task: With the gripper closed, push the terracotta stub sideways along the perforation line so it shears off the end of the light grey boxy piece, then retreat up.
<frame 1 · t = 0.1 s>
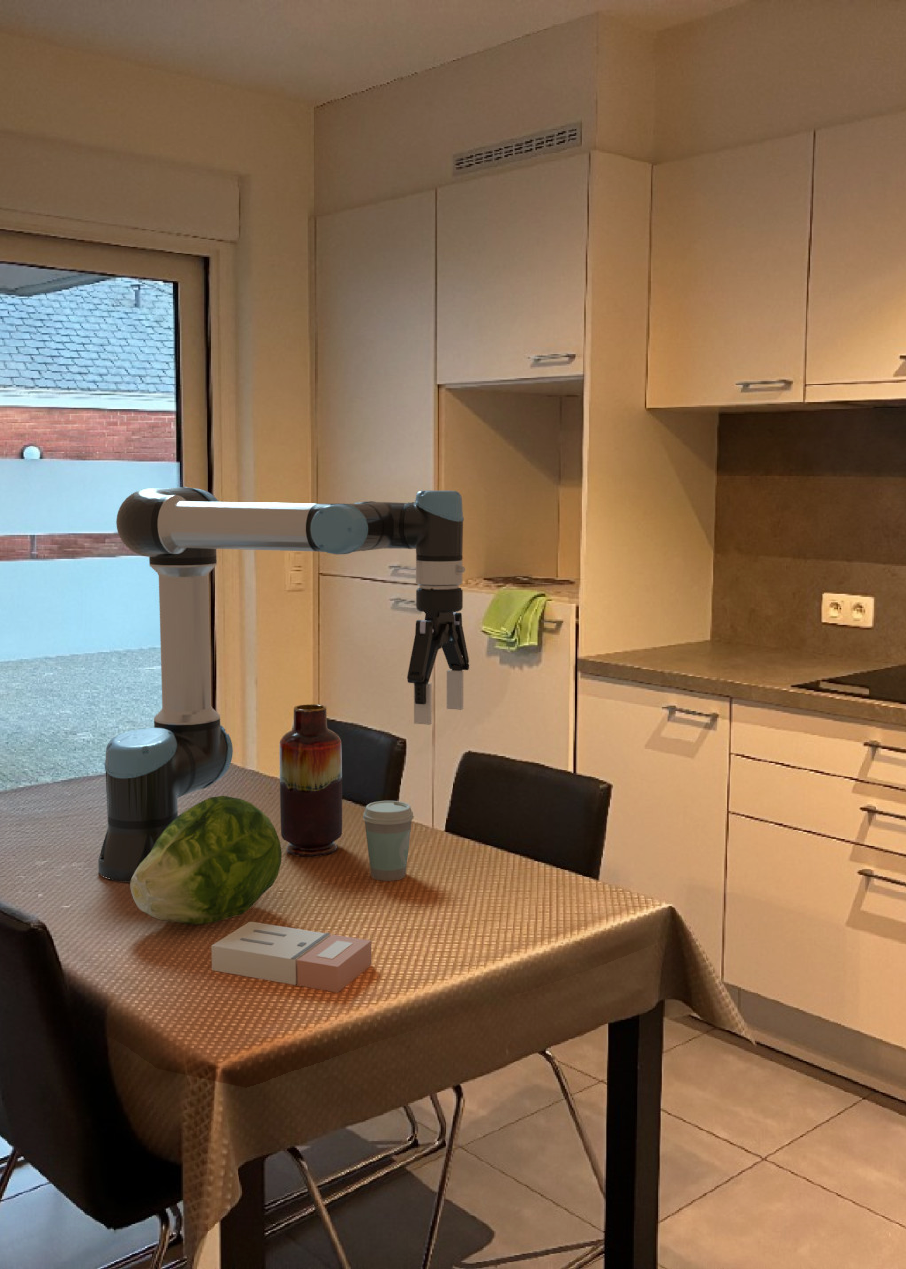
hand: (439, 716, 204), 28 cm above the table, fingers open, 13 cm apart
stub: (335, 962, 169), point 2 cm above the table, slide at 0.0 cm
coffee cup: (388, 876, 211), on the table
light grey boxy piece: (281, 965, 172), on the table
lettuce: (206, 919, 191), on the table
vase: (311, 850, 225), on the table
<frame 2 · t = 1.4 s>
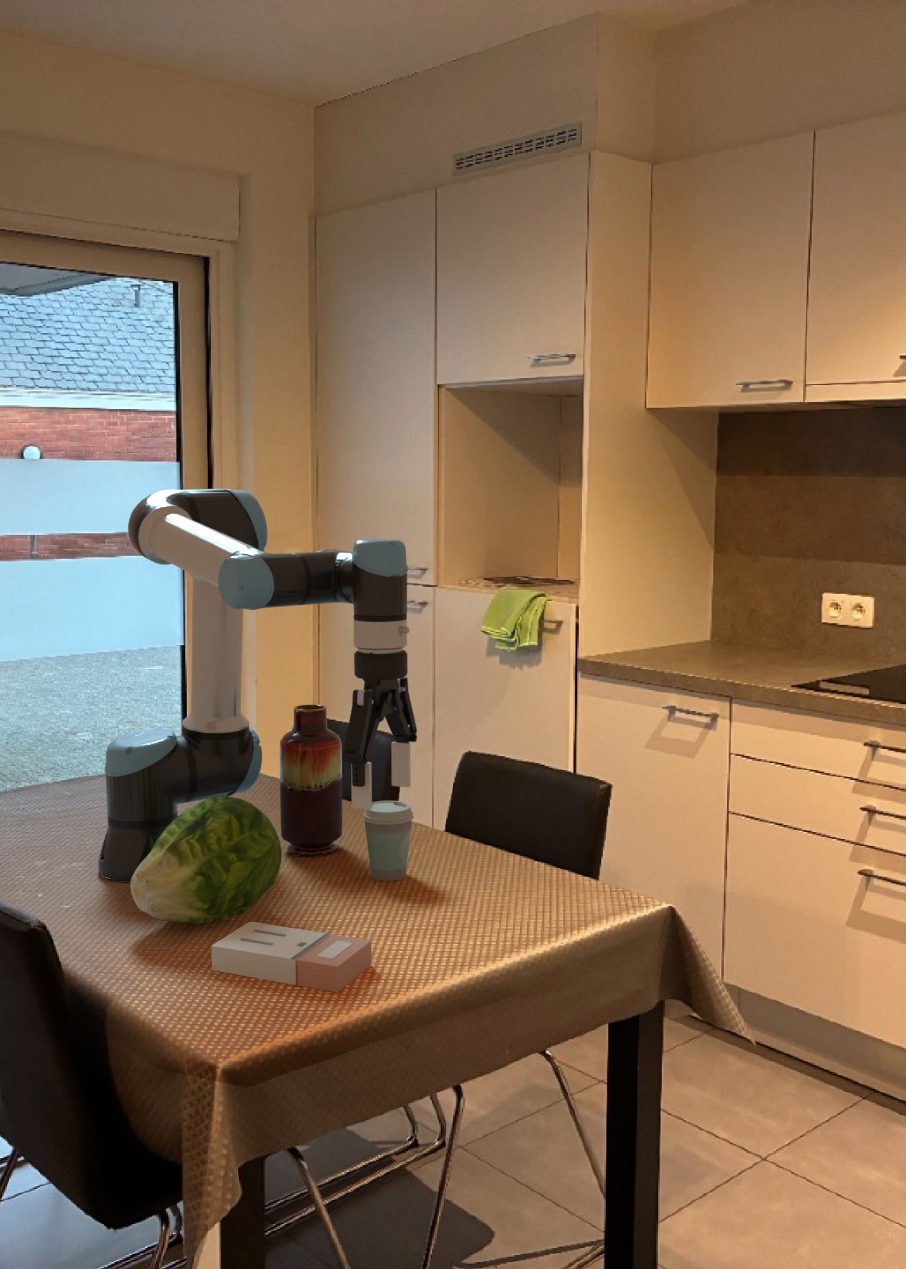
hand: (382, 797, 178), 21 cm above the table, fingers open, 13 cm apart
nothing on the table moved.
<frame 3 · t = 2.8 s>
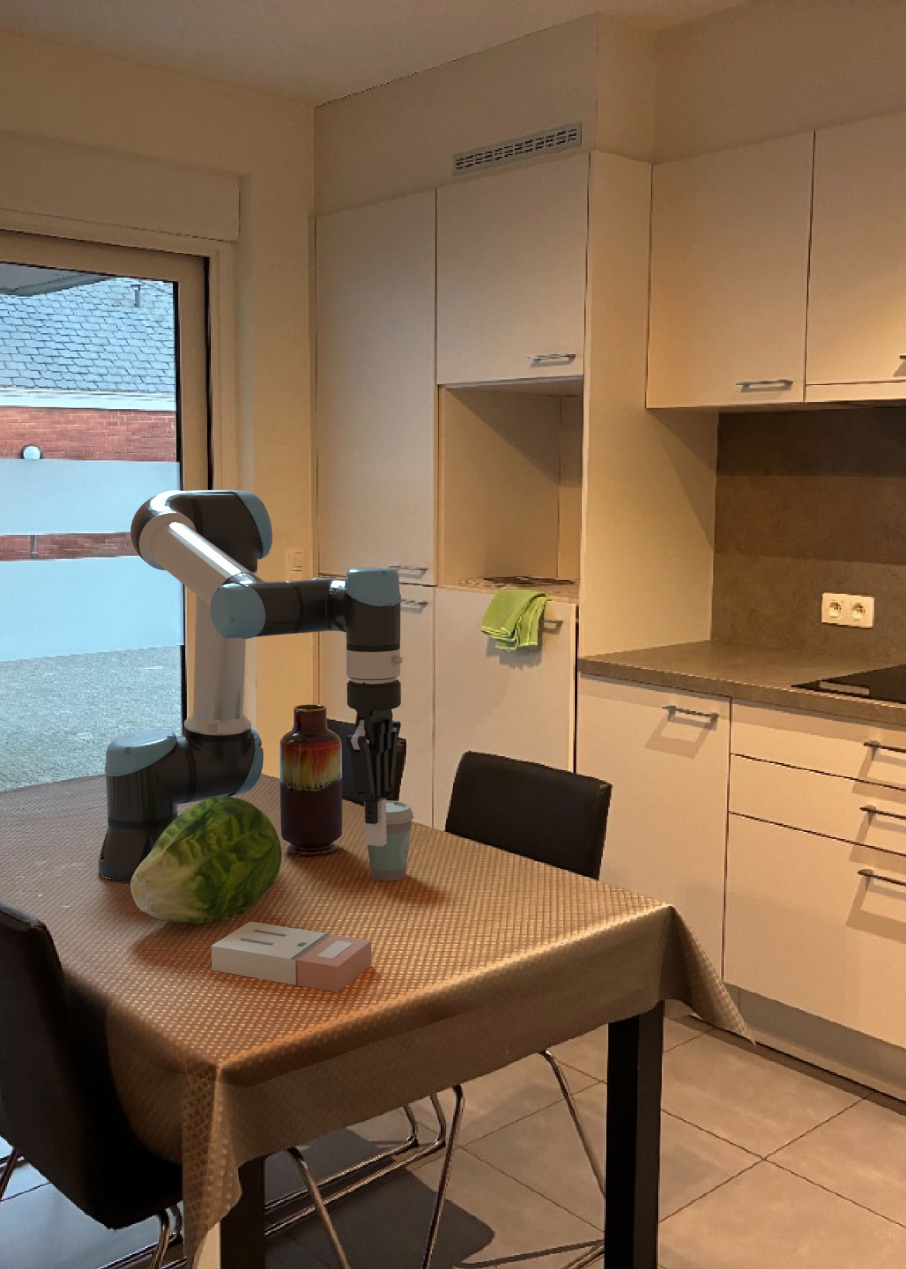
hand: (375, 843, 177), 15 cm above the table, fingers closed
nothing on the table moved.
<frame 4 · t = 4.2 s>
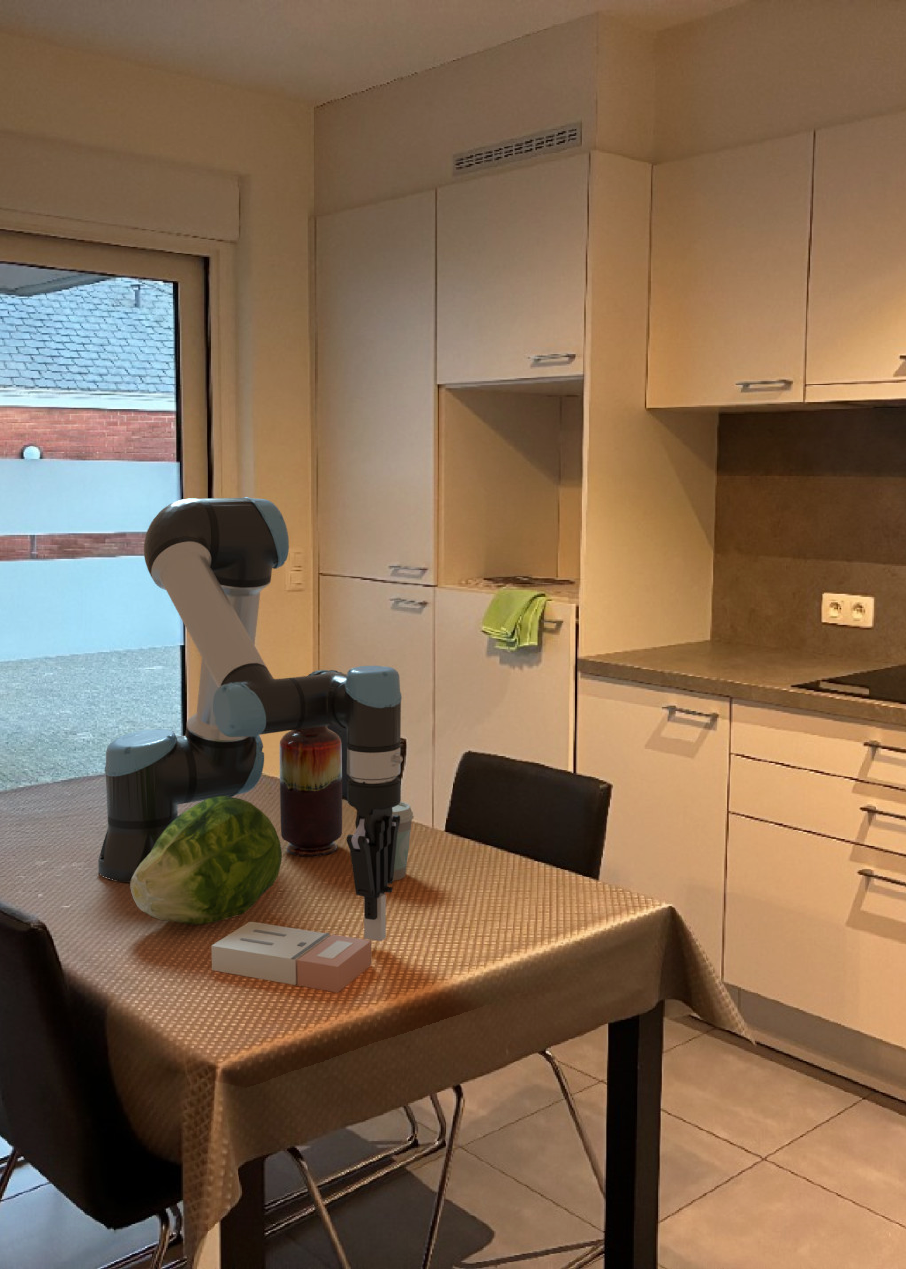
hand: (375, 938, 179), 1 cm above the table, fingers closed
nothing on the table moved.
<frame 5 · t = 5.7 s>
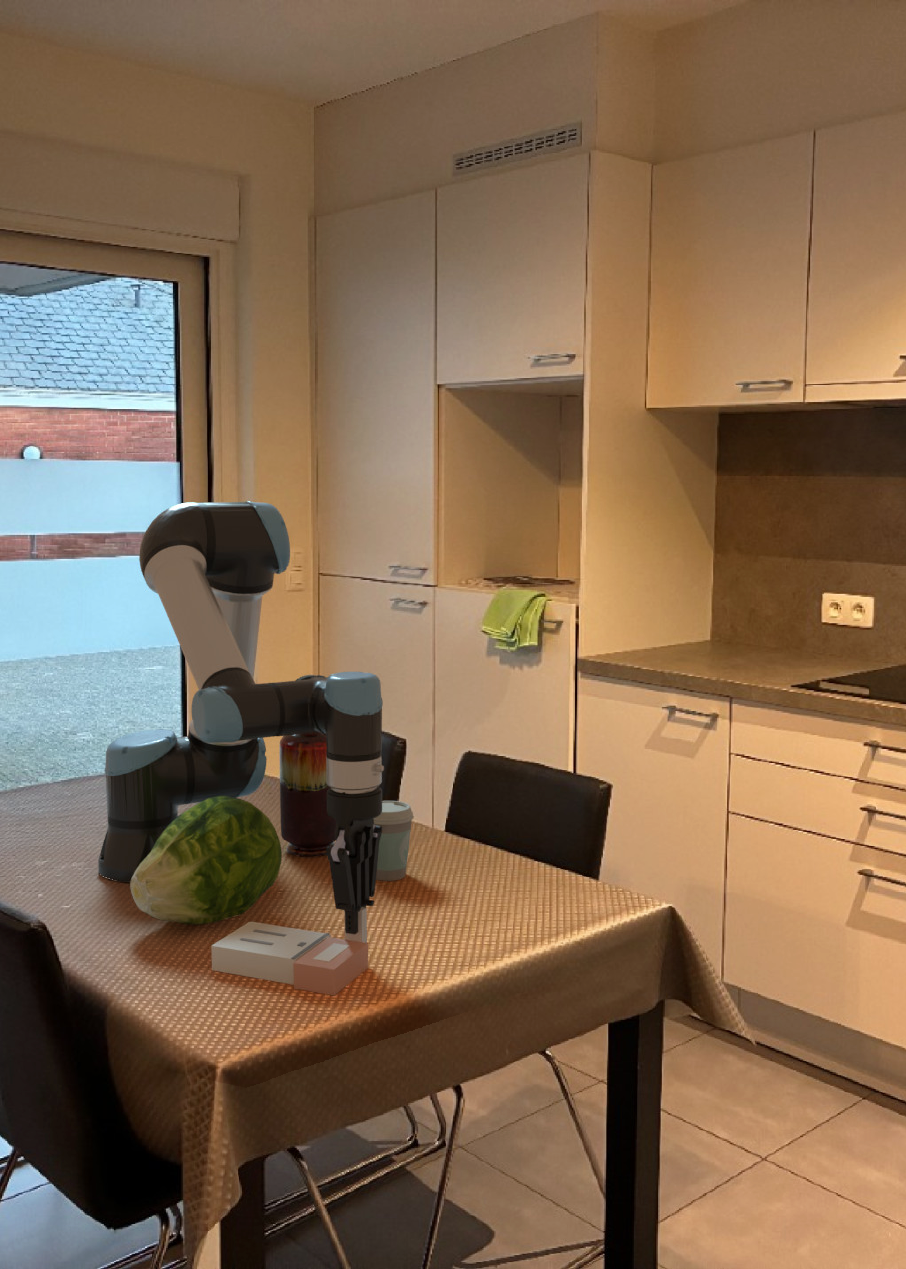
hand: (355, 953, 173), 1 cm above the table, fingers closed
stub: (331, 964, 168), point 2 cm above the table, slide at 1.0 cm, touching gripper
everything else where it was.
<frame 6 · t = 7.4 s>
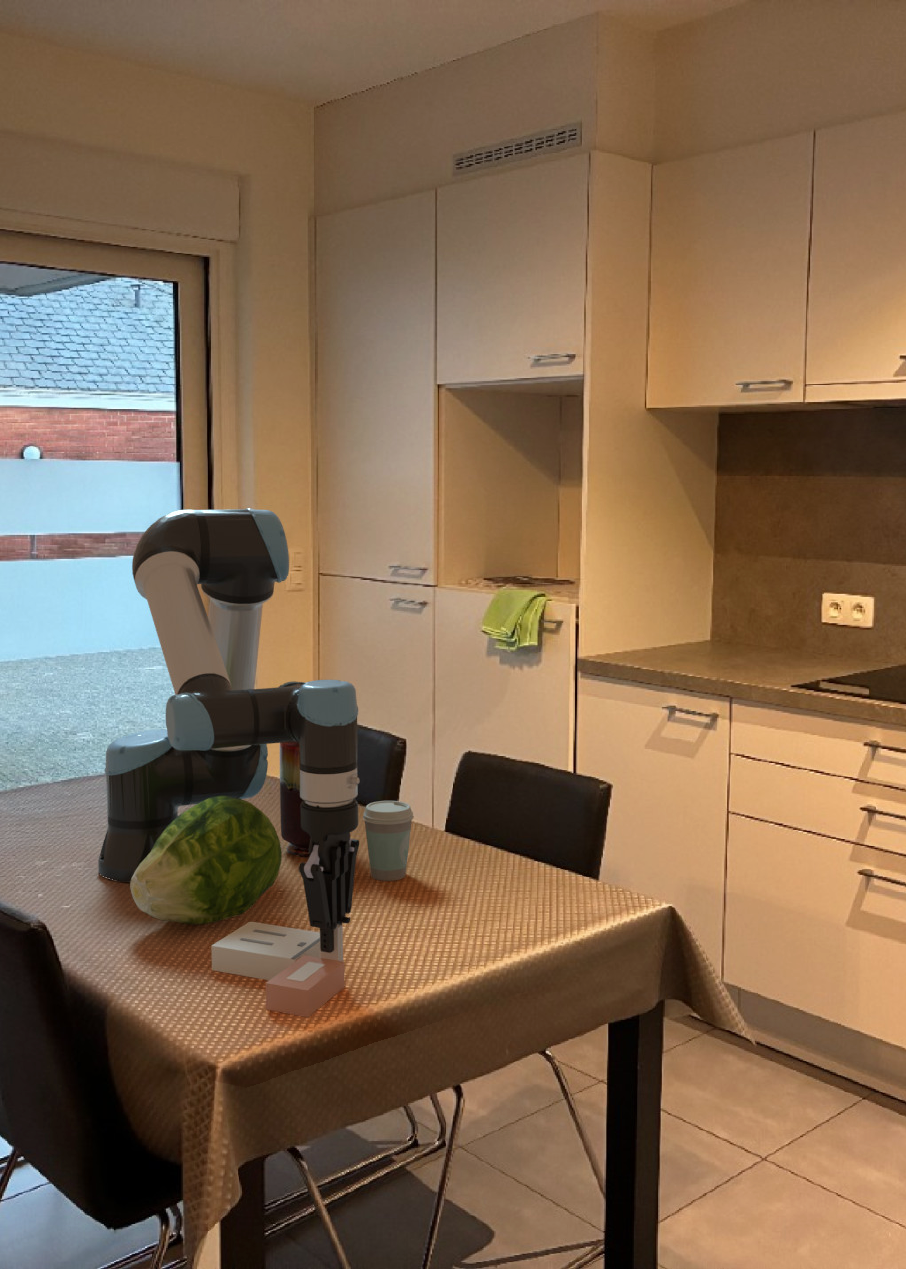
hand: (331, 971, 166), 1 cm above the table, fingers closed
stub: (305, 984, 161), point 2 cm above the table, slide at 8.1 cm, touching gripper
everything else where it was.
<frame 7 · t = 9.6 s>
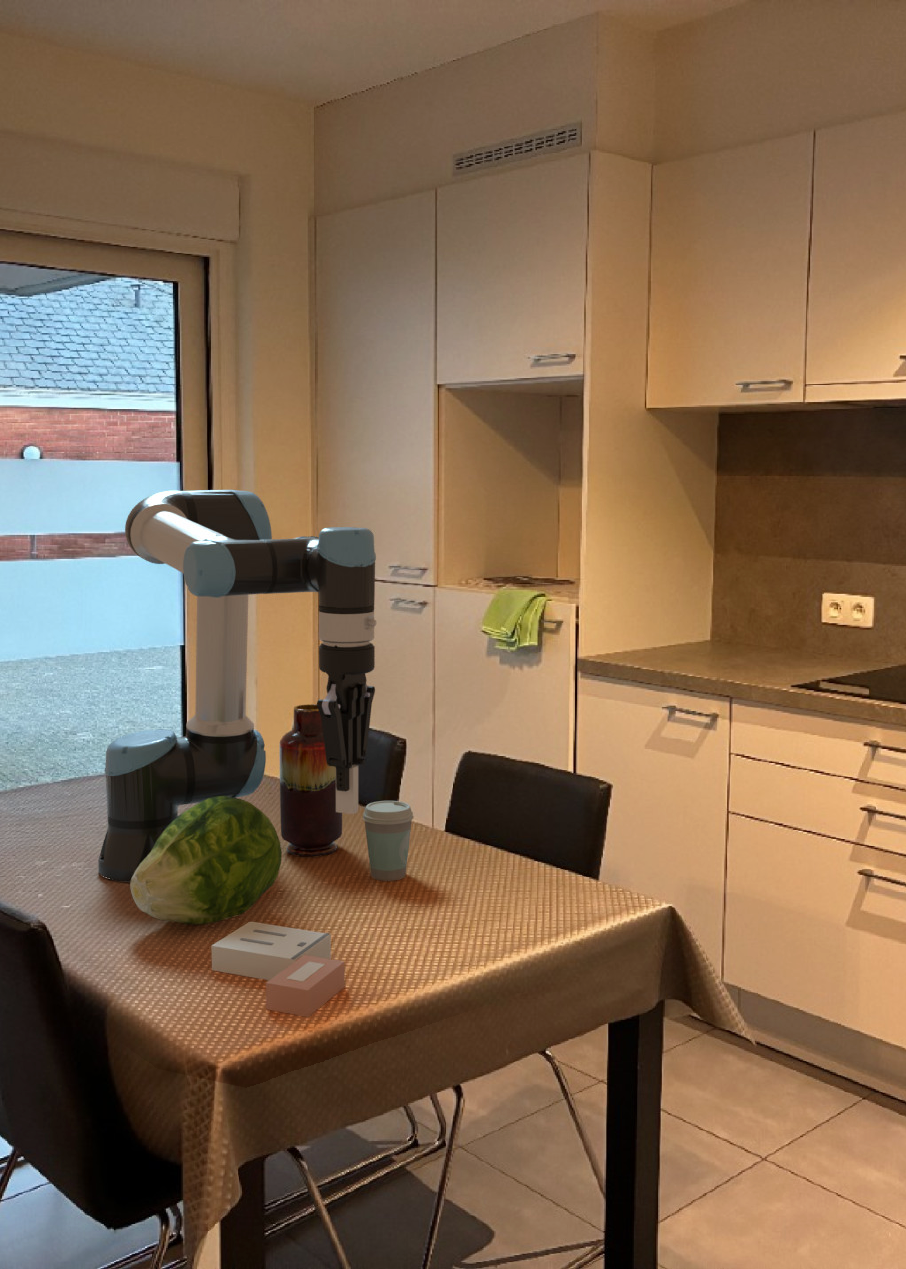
hand: (347, 811, 172), 21 cm above the table, fingers closed
stub: (306, 984, 161), point 2 cm above the table, slide at 8.1 cm
everything else where it was.
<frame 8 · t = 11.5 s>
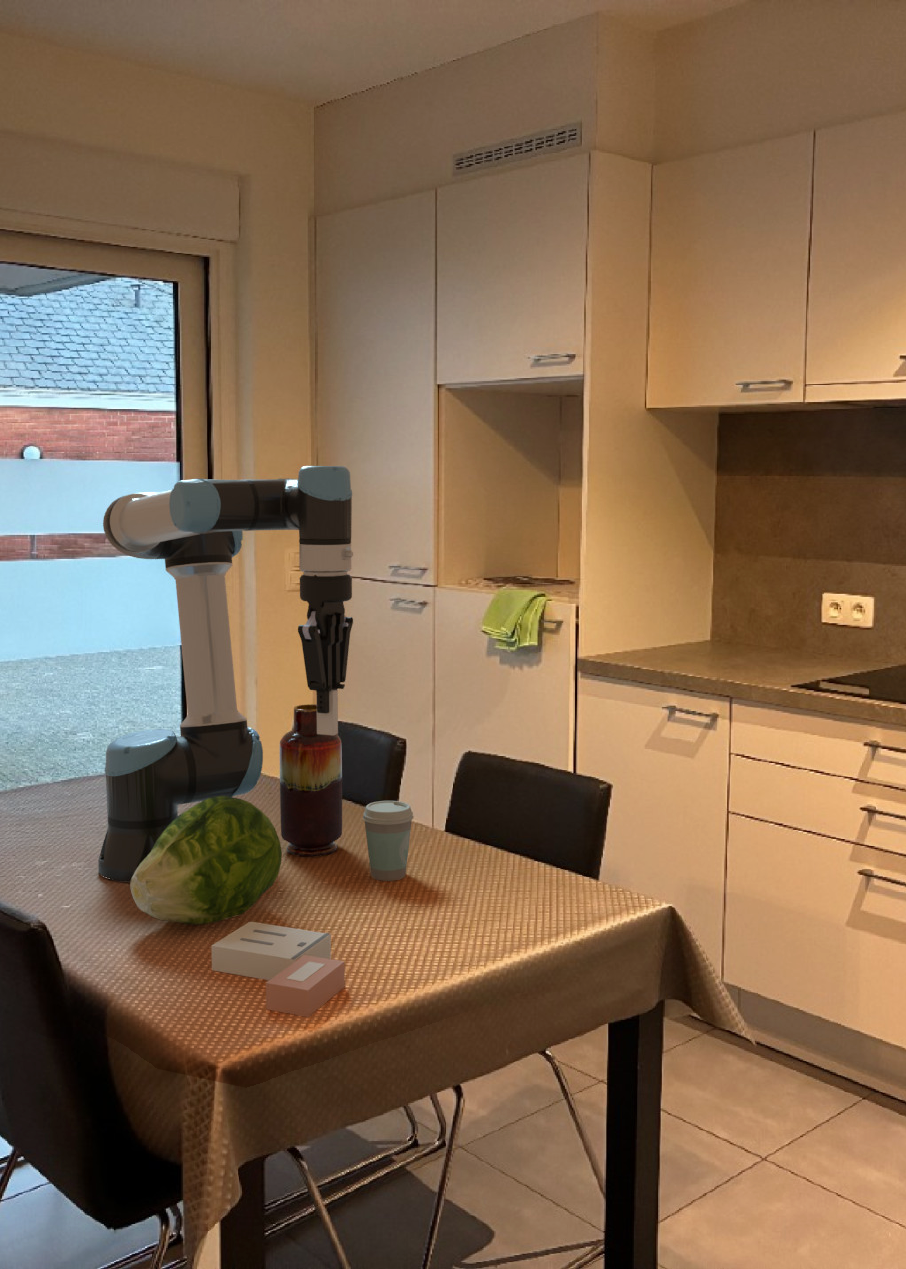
hand: (327, 733, 183), 29 cm above the table, fingers closed
nothing on the table moved.
at the end: stub slide at 8.1 cm; stub touching nothing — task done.
